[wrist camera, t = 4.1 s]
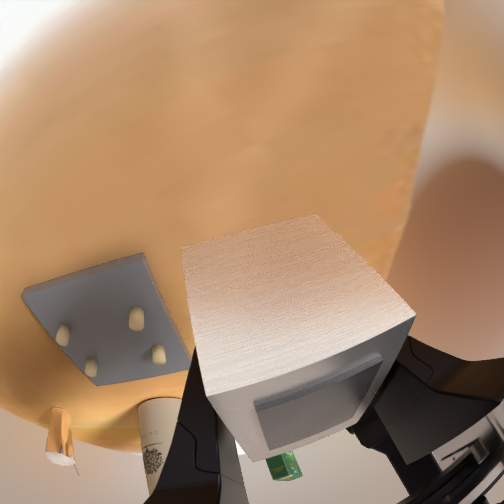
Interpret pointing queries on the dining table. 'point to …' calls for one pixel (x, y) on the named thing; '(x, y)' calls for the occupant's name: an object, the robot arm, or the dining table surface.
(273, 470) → the coffee box
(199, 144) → the dining table surface
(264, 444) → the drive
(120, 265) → the pin tray
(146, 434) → the travel mug
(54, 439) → the milkshake
